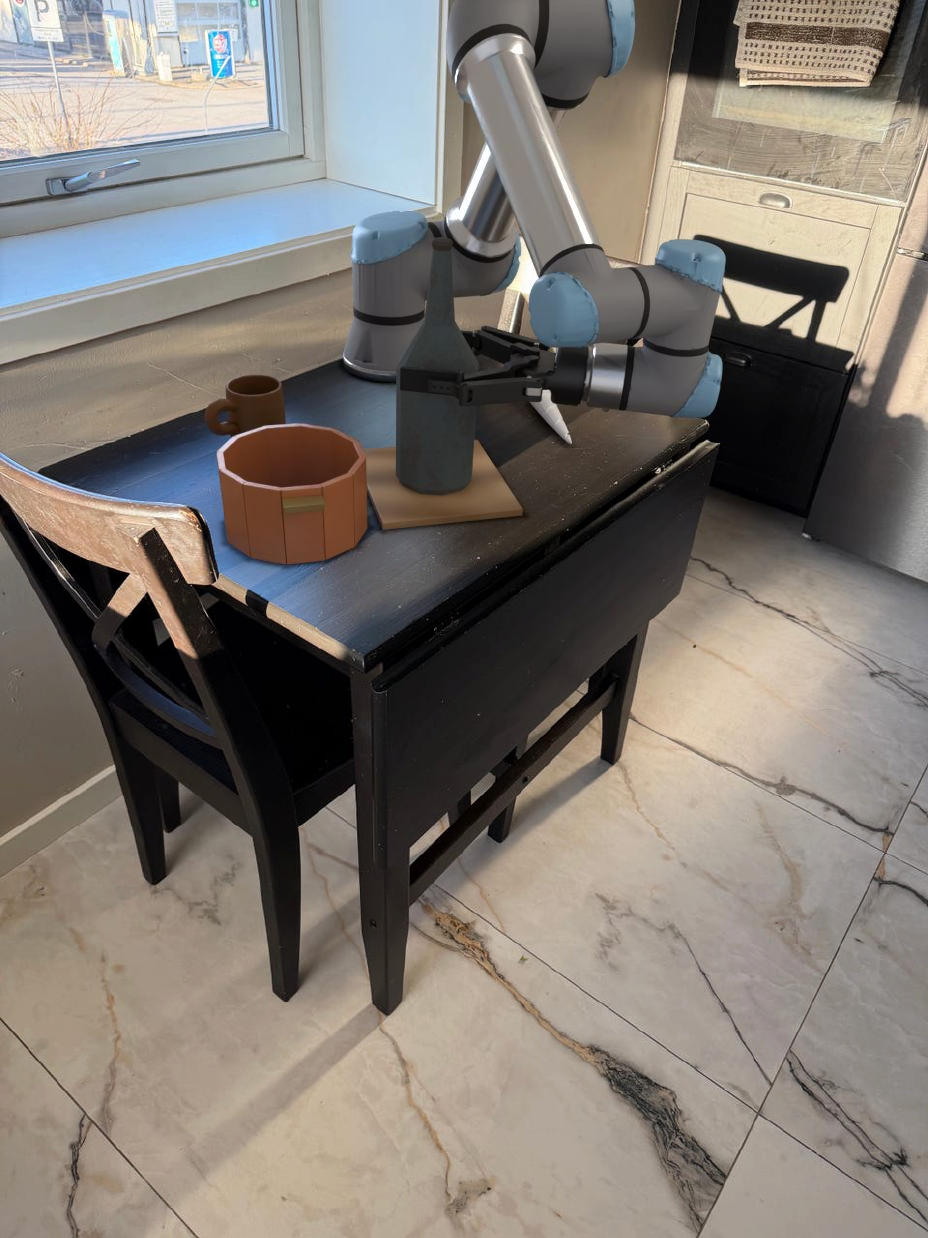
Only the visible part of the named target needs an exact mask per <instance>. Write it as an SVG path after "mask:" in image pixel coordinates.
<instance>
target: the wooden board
mask: <svg viewBox="0 0 928 1238" xmlns="http://www.w3.org/2000/svg"><path fill="white" fill-rule="evenodd" d="M362 449H363V451H364V453H365V456H366V472H367V496H368V497H369V499H370V502H371V505H372V507H373V509H374V512H375V514H376V517H377V520H378V522H379V524H380V527H381V530H382V531H386V530H395V529H397V530H398V529H407V528H415V527H416V528H417V527H426V526H433V525H434V526H435V525H444V524H454V523H464V522H474V521H475V522H476V521H484V520H493V519H502V518H512V517H521V516H523V513H524V508H523V507H522V505H521V504H520V502H519V501H518V499H517V498H516V496H515V495H514V494H513V492H512V490H511V488H510V487H509V485H508V484H507V482H506V481H505V480H504V478H503V476H502V475H501V473H500V472H499V470H498V469H497V467H496V466H495V464H494V463H493V461H492V460H491V458H490V457H489V455H488V454H487V452H486V451H485V449H484V447H483V446H482V444H481V443H480V441H479V440H478V439H474V454H473V470H472V478H471V482H470V483H469V484H468V486H466V487H465V488H464V489H463V490H461V491H457V492H453V493H449V494H446V495H431V494H420V493H418V492H415V491H413V490H411V489H409V488H407V487H405V486H403V485H402V483H401V482H400V481H399V479H398V478H397V476H396V446H386V447H374V448H373V447H372V448H362Z"/></svg>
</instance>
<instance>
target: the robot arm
mask: <svg viewBox="0 0 928 1238" xmlns="http://www.w3.org/2000/svg"><path fill="white" fill-rule="evenodd" d="M635 14H636V12H635V2H634V0H454V1H453V2H452V5H451V8H450V11H449V16H448V20H447V24H446V35H445V52H446V53H445V54H446V60H447V66H448V70H449V74H450V76H451V79H452V82H453V84H454V87H455V90H456V92H457V94H458V96H459V98H460V99H461V100H462V101H463V102H465V104H468V105H471V106H472V109H473V111H474V114H475V117H476V120H477V122H478V124H479V127H480V130H481V132H482V135H483V137H484V140H485V141H484V144H483V146H482V149H481V151H480V154H479V156H478V159H477V162H476V165H475V167H474V169H473V171H472V175H471V176H470V179H469V182H468V183H467V187H466V189H465V192H464V195H462V196H459V197H457V198H456V199H454V200H453V201H452V202H451V204H450V205H449V207H448V208H447V211H446V213H445V216H444V218H443V220H437V221H436V220H435V221H428V220H427V218H426V216H425V215H424V214H422V213H421V212H416V211H411V210H403V211H399V210H392V211H385V212H384V211H383V212H379V213H375V214H372V215H369V216H367V217H364V218H363V219H361V220H360V221H359V222H358V223H356V224H355V226H354V228H353V230H352V234H351V250H350V260H351V274H352V275H351V276H352V280H351V281H352V322H351V325H350V329H349V332H348V335H347V338H346V341H345V345H344V349H343V352H342V358H343V359H342V361H343V363H342V364H343V367H344V369H345V370H346V371H347V372H349V373H350V374H352V375H353V376H356V377H358V378H361V379H365V380H370V381H375V382H376V381H377V382H387V383H391V382H392V383H395V382H396V367H397V364H398V361H399V358H400V357H401V355H402V354H403V352H404V350H405V349H406V347H407V346H408V344H409V343H410V341H411V340H412V338H413V337H414V335H415V333H416V332H417V330H418V329H419V327H420V326H421V324H422V323H423V321H424V318H425V310H426V302H427V294H428V286H429V277H430V269H431V261H432V253H433V247H432V244H431V243H432V241H433V239H434V238H438V237H443V238H449V239H451V240H452V242H453V245H452V248H451V257H452V275H453V293H454V299H456V298H467V297H468V298H469V297H485V296H490V295H492V294H497V293H498V294H499V293H500V292H501V293H502V292H503V291H504V290H507V288H509V287H510V286H511V285H512V283H513V282H514V280H515V279H516V277H517V276H518V275H517V274H518V272H519V269H520V265H521V262H520V260H519V258H520V257H521V256H522V242H521V237H520V234H521V236H522V239H523V242H524V245H525V246H526V250H527V251H528V254H529V257H530V260H531V263H532V265H533V267H534V270H535V273H536V276H537V279H536V280H535V281H534V283H533V284H532V286H531V289H530V292H529V296H528V302H527V303H528V304H527V305H528V307H527V308H528V312H529V314H530V318H529V324H530V328H531V330H532V332H533V334H534V336H535V338H532V337H528V336H525V335H521V334H517V333H514V332H511V331H507V330H503V329H500V328H496V327H492V326H489V325H482V326H480V329H475V330H474V331H472V330H463V329H462V330H461V329H460V331H461V332H462V334H463V336H464V338H465V340H466V341H467V343H468V345H469V347H470V349H471V350H472V352H473V354H474V356H475V357H478V356H481V355H482V356H484V357H487V358H489V359H491V360H493V361H495V362H498V363H499V364H502V365H503V366H501V367H494V368H490V369H485V370H480V371H479V372H474V373H469V374H465V373H463V371H461V370H459V369H458V370H457V371H451V370H441V369H432V368H422V367H412V366H402V365H401V367H400V390H402V391H412V392H421V393H431V394H441V395H450V396H455V398H456V399H458V400H459V405H460V406H476V407H477V406H487V405H498V404H508V403H518V402H520V403H521V402H526V403H530V402H541V401H542V392H543V390H550V393H551V402H552V403H554V404H556V405H561V406H570V407H572V406H573V407H578V406H580V405H581V402H585V406H586V407H587V408H593V409H594V408H595V409H601V411H603V412H605V413H608V412H609V411H610V410H613V411H621V412H622V411H623V412H625V411H626V412H634V413H642V414H650V415H657V416H665V417H666V416H667V417H669V418H687V419H695V418H696V419H701V418H706V417H708V416H710V415H711V414H712V413H713V412H714V410H715V408H716V405H717V402H718V399H719V395H720V392H721V391H720V390H721V383H722V376H723V361H722V360H723V359H722V357H720V355H719V354H714V353H711V351H710V349H709V344H710V340H711V335H712V330H713V327H714V326H713V325H714V322H715V317H716V313H717V308H718V306H719V300H720V297H721V293H723V284H724V277H725V273H726V269H725V268H726V260H727V259H726V254H725V253H724V250H723V249H721V247H719V246H717V245H715V244H713V243H711V242H707V241H703V240H699V239H698V240H697V239H689V238H676V239H670V240H668V241H664V242H663V243H661V244H660V245H659V247H658V250H657V253H656V257H655V258H654V264H648V265H647V264H646V265H638V266H637V265H636V266H635V265H634V266H626V267H625V266H624V267H612V266H611V264H610V261H609V259H608V257H607V255H606V253H605V250H604V247H603V245H602V242H601V240H600V238H599V235H598V233H597V229H596V228H595V225H594V223H593V220H592V218H591V214H590V212H589V210H588V207H587V205H586V203H585V200H584V197H583V195H582V193H581V190H580V188H579V185H578V182H577V180H576V178H575V175H574V173H573V170H572V168H571V165H570V162H569V160H568V158H567V155H566V152H565V150H564V148H563V145H562V142H561V140H560V138H559V135H558V132H559V130H560V128H561V126H562V123H563V121H564V119H565V117H566V115H567V113H568V111H571V110H574V109H576V108H579V107H581V106H582V105H583V104H584V103H585V101H586V100H587V98H588V97H589V95H590V92H591V91H592V89H593V87H594V85H595V82H596V81H597V80H598V78H600V77H601V78H604V79H609V78H611V77H613V76H616V75H618V74H620V73H621V71H623V69H624V68H625V66H626V65H627V63H628V61H629V58H630V56H631V53H632V49H633V45H634V39H635V31H636V21H635V20H636V19H635V18H636V17H635V16H636V15H635ZM517 226H518V228H519V232H520V233H519V232H518V228H517ZM637 339H642V346H633V345H627V344H619V343H611V342H618V341H624V340H625V341H629V340H637ZM591 345H592V346H591ZM551 348H554V349H555V352H552V351H551Z"/></svg>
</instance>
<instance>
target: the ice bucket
mask: <svg viewBox="0 0 928 1238" xmlns="http://www.w3.org/2000/svg"><path fill="white" fill-rule="evenodd" d="M363 449H364V448H363V447H362V444H361V442H360V440H358V439H356V438H355V437H352V436H350V435H348V434H346V433H344V432H342V431H340V430H338V429H337V428H335V427H328V426H321V425H315V424H308V423H299V422H298V423H286V424H282V425H268V426H263V427H260V428H257V429H254V430H251V431H248V432H245V433H242V434H239V435H236V436H234V437H232V438H230V439H228V440H227V442H225V443H224V444H223V445H222V446H221V447H220V448H219V449H218V450H217V451H216V452H215V456H216V461H217V463H216V464H217V470H218V471H217V472H218V479H219V487H220V494H221V502H222V511H223V518H224V526H225V533H226V540H227V542H228V544H229V545H231V546H232V547H234V548H235V549H237V550H238V551H240V552H241V553H242V554H243V555H245V556H247V557H248V558H251V559H253V560H254V559H255V560H259V561H264V562H269V563H270V562H271V563H275V564H281V565H287V566H288V565H297V564H307V563H315V562H324V561H328V560H330V559H332V558H334V557H336V556H338V555H340V554H342V553H344V552H346V551H349V550H352V549H354V548H355V547H356V546H357V545H358V544H359V542H360V541H361V539H362V537H363V536H364V534H365V533H366V531H367V530H368V492H367V472H366V456H365V453H364V451H363Z"/></svg>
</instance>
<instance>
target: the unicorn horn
mask: <svg viewBox="0 0 928 1238" xmlns="http://www.w3.org/2000/svg"><path fill="white" fill-rule="evenodd" d="M529 403H530V405H531V406H532V407H533V408H534V409H535V411H536V412H537V413H538V414H539V415H540V416H541V417H542V418H543V420H544V421H545V422H546V423H547V424H548V425H549V427H551V429H553V430H554V432H556V433H557V434H558V435H559V437H561V438H562V439H563V440H564V441H565V442H566V443H568V444H569V445H572V444H573V442H572V438H571V434H569V433H570V432H569V430H568V427H567V425H566V422H565V421H564V419H563V416H562V414H561V412H560V410H559V407H558V404H554V403H552V402H551V391H550V390H543V392H542V401H541V402H529Z"/></svg>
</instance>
